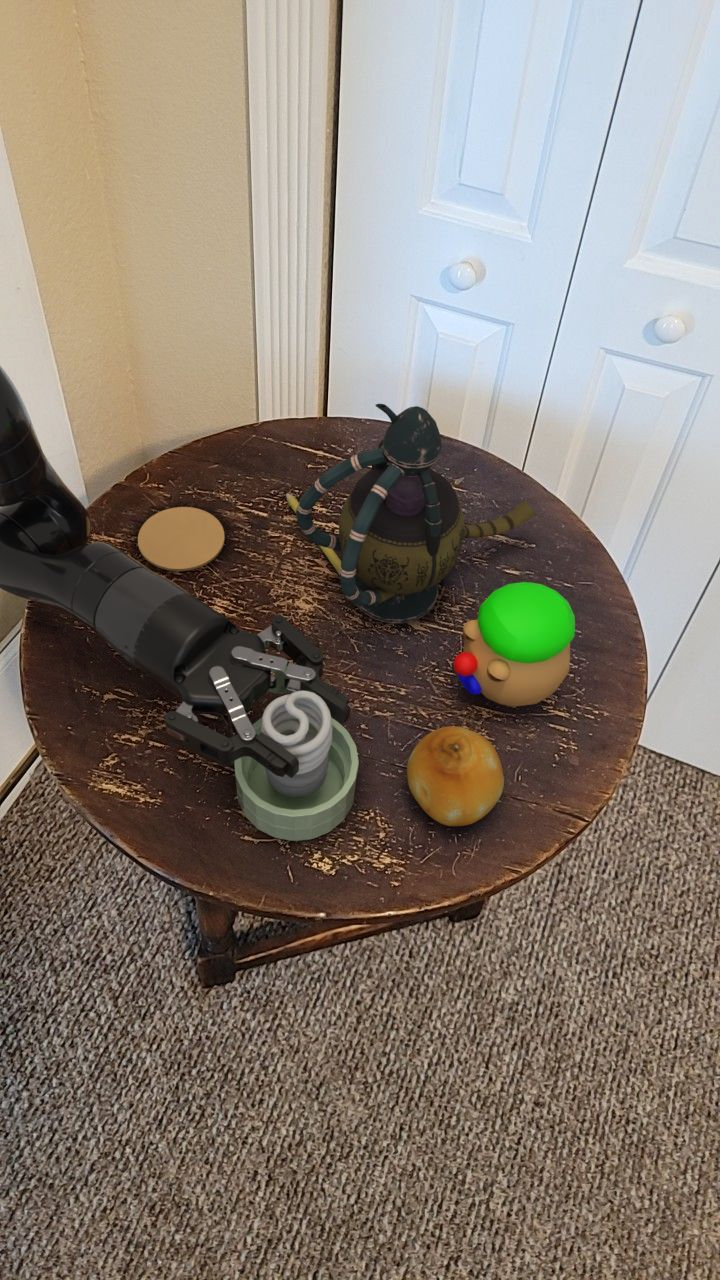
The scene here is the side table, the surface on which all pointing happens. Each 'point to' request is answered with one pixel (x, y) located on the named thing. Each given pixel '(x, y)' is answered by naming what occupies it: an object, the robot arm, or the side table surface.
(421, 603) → the teapot
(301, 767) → the light bulb
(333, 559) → the pencil
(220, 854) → the side table surface
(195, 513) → the coaster
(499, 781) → the fruit
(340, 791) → the bowl
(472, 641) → the figurine
